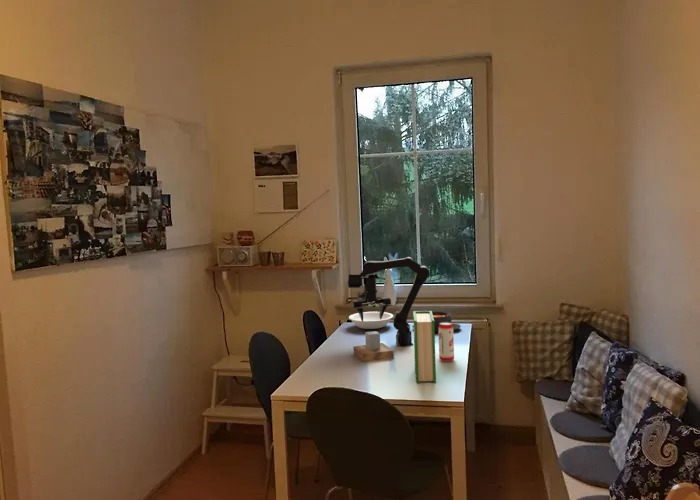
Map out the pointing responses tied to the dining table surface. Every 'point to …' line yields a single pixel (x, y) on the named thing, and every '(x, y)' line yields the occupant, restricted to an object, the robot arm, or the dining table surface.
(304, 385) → the dining table surface
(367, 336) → the grey block
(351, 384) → the dining table surface
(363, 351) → the brown block
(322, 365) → the dining table surface
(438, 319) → the casserole
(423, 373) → the hardback book
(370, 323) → the soup bowl
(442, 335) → the beer can
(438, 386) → the dining table surface
